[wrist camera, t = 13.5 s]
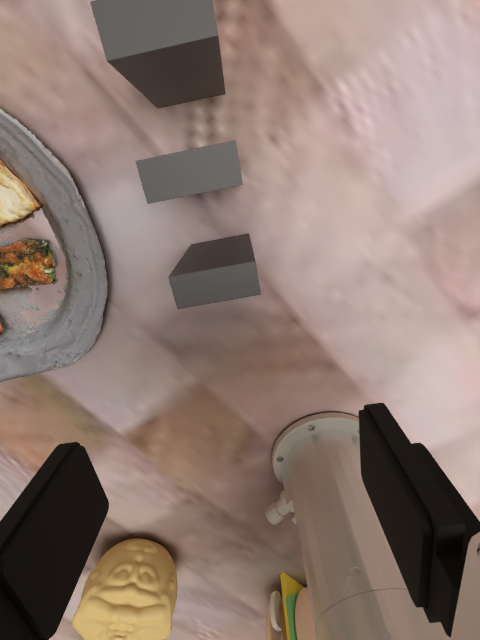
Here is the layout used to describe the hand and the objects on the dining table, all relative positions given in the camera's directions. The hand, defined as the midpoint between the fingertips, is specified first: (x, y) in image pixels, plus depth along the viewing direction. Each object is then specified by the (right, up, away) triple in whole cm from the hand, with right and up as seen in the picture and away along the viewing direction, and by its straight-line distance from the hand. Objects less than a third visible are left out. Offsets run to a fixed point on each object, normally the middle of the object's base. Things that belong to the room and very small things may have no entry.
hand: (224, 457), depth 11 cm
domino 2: (-2, +16, +14) cm, 22 cm away
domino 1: (-3, +21, +12) cm, 25 cm away
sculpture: (-13, -28, +34) cm, 46 cm away
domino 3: (-1, +11, +17) cm, 20 cm away
